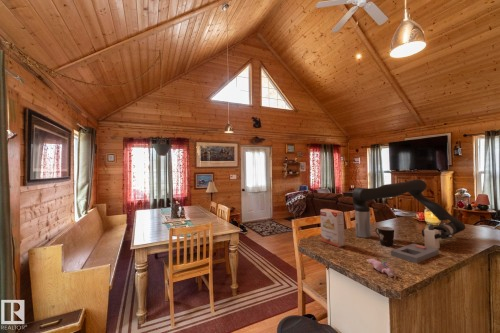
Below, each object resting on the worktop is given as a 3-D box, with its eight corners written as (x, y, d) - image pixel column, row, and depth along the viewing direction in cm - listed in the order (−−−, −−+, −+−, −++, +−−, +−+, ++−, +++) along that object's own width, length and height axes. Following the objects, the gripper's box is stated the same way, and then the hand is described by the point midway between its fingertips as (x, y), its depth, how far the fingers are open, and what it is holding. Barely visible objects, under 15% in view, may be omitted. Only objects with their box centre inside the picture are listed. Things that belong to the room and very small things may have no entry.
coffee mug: (398, 247, 128) (397, 230, 128) (381, 247, 129) (380, 230, 130) (389, 241, 139) (388, 225, 139) (374, 241, 141) (373, 225, 141)
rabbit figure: (402, 280, 93) (371, 261, 107) (404, 267, 92) (372, 250, 106) (391, 283, 91) (362, 264, 105) (393, 270, 90) (363, 252, 104)
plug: (435, 249, 123) (433, 226, 123) (424, 247, 127) (423, 224, 128) (439, 247, 125) (438, 224, 125) (429, 245, 129) (427, 223, 130)
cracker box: (320, 241, 143) (319, 209, 144) (327, 240, 146) (326, 208, 147) (338, 247, 131) (336, 212, 132) (345, 245, 134) (343, 211, 134)
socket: (417, 263, 106) (416, 256, 106) (391, 255, 116) (390, 249, 116) (438, 254, 116) (438, 247, 116) (413, 247, 127) (413, 242, 127)
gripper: (428, 222, 140) (414, 226, 131) (457, 227, 127) (444, 231, 119) (428, 234, 139) (415, 239, 131) (458, 240, 127) (445, 245, 119)
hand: (429, 235), depth 125 cm, fingers closed on plug, 5 cm apart
